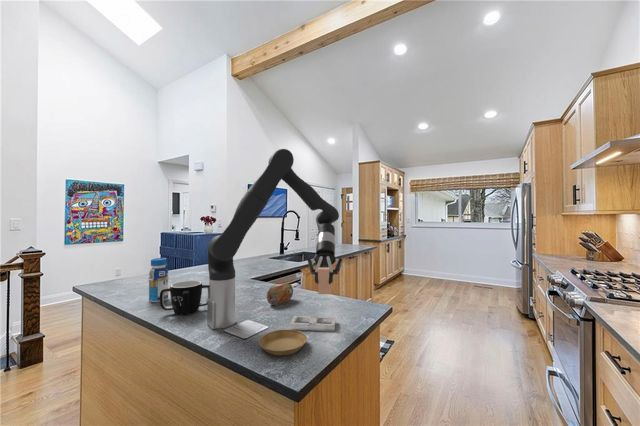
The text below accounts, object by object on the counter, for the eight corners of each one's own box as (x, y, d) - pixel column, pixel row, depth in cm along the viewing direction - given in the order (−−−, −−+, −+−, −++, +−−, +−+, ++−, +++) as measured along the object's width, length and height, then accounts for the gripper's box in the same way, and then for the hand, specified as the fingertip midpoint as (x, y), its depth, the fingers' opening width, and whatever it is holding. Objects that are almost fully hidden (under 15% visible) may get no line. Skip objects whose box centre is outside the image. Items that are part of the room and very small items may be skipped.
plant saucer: (250, 346, 85) (250, 337, 85) (289, 333, 94) (289, 325, 95) (274, 365, 74) (274, 356, 74) (316, 348, 83) (316, 340, 83)
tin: (270, 307, 120) (270, 288, 121) (265, 306, 122) (265, 287, 122) (293, 299, 132) (293, 282, 133) (288, 298, 134) (288, 281, 134)
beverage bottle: (149, 298, 134) (150, 258, 135) (169, 296, 138) (169, 257, 138) (147, 303, 127) (147, 260, 127) (167, 301, 130) (168, 259, 130)
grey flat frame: (289, 329, 97) (289, 323, 97) (293, 320, 105) (293, 315, 105) (334, 331, 95) (334, 325, 95) (335, 322, 103) (335, 316, 103)
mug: (156, 314, 112) (156, 285, 112) (190, 303, 126) (190, 277, 126) (181, 321, 104) (181, 290, 105) (215, 309, 119) (215, 281, 119)
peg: (329, 294, 98) (328, 269, 98) (318, 294, 98) (317, 269, 98) (329, 291, 102) (329, 267, 102) (319, 291, 102) (319, 267, 102)
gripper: (307, 239, 108) (302, 277, 96) (343, 239, 107) (343, 277, 95) (309, 251, 113) (305, 288, 101) (343, 251, 112) (343, 288, 100)
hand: (323, 282), depth 98 cm, fingers closed on peg, 4 cm apart
